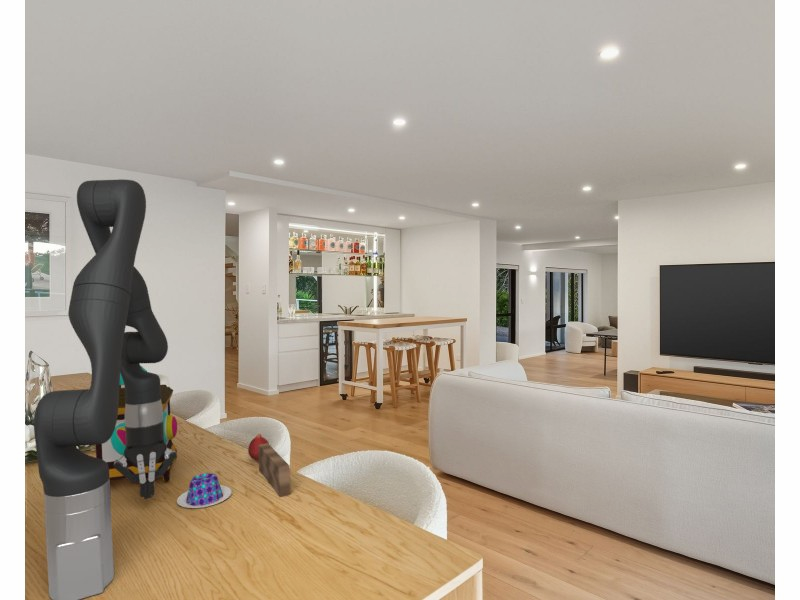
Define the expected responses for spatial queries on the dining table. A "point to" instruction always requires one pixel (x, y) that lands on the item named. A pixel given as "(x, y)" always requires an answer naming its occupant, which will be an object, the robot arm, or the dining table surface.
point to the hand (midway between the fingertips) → (147, 497)
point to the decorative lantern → (118, 439)
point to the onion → (256, 446)
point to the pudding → (204, 491)
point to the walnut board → (274, 469)
